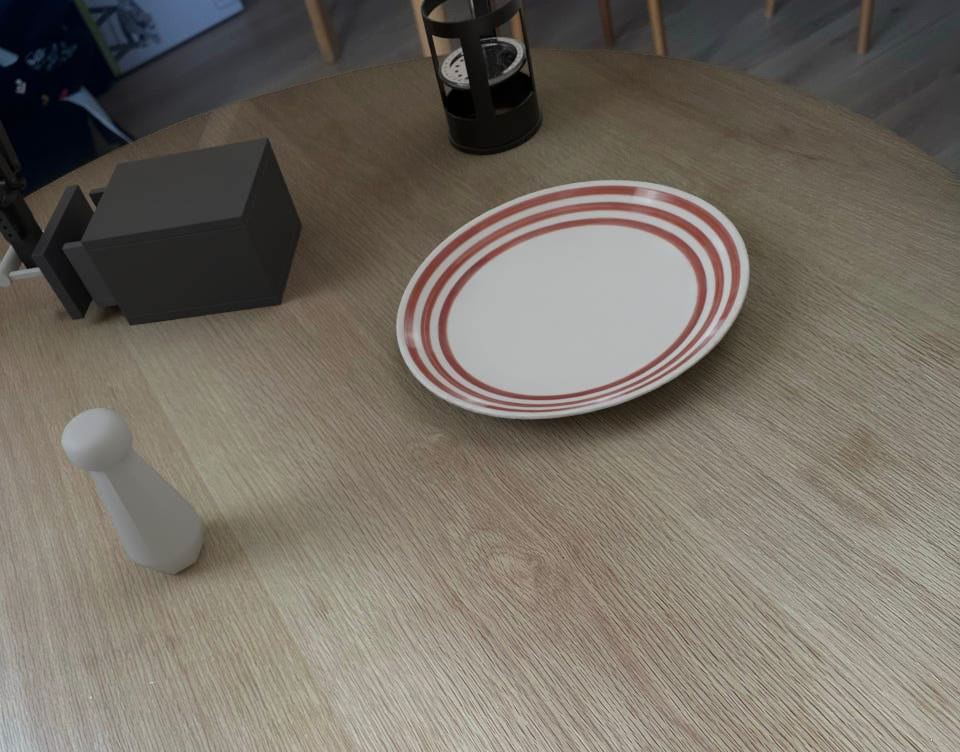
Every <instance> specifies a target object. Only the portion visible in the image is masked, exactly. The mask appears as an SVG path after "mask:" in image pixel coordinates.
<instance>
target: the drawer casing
mask: <svg viewBox="0 0 960 752" xmlns="http://www.w3.org/2000/svg"><path fill="white" fill-rule="evenodd" d="M105 187H106V189H105V191H104V193H103V195H102V197H101V199H100V201H99V204H98V206H97V208H96V207H95V210H94V211H93V212H94V214H93V216H92V218H91V220H90V223H89V225H88V227H87V229H86V231H85V233H84V235H83V237H82V240H81V244H82V245H83V247H84V249H85V250H86V252H87V254H88V255H89V257H90V259H91V260H92V262H93V264H94V266H95V267H96V269H97V271H98V272H99V274H100V276H101V277H102V279H103V281H104V282H105V284H106V286H107V287H108V289H109V291H110V292H111V294H112V296H113V297H114V299H115V301H116V303H117V304H118V305H117V307H118V308H119V309H120V311H121V312H122V314H123V316H124V318H125V320H126V322H127V323H128V324H129V326H133V325H142V324H149V323H155V322H164V321H171V320H177V319H184V318H192V317H199V316H206V315H214V314H221V313H229V312H234V311H243V310H249V309H257V308H263V307H264V308H265V307H270V306H278V305H281V304H282V300H283V297H284V293H285V290H286V289H285V288H286V286H287V282H288V278H289V275H290V270H291V268H292V264H293V260H294V257H295V252H296V250H297V245H298V241H299V238H300V234H301V230H302V227H303V224H302V220H301V218H300V216H299V214H298V210H297V208H296V206H295V203H294V201H293V198H292V195H291V193H290V190H289V188H288V185H287V182H286V180H285V177H284V175H283V173H282V170H281V168H280V165H279V162H278V160H277V157H276V154H275V152H274V149H273V147H272V145H271V141H270V140H269V137H261V138H256V139H251V140H244V141H240V142H239V141H238V142H233V143H227V144H223V145H216V146H211V147H205V148H199V149H194V150H187V151H182V152H176V153H171V154H165V155H159V156H153V157H148V158H143V159H137V160H131V161H126V162H125V161H124V162H119V163H117V164H116V165H115V167H114V170H113V172H112V174H111V176H110V178H109V180H108V182H107V184H106V186H105Z"/></svg>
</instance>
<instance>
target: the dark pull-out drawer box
mask: <svg viewBox="0 0 960 752" xmlns="http://www.w3.org/2000/svg"><path fill="white" fill-rule="evenodd" d="M106 187H107V186H103V187H97V188H91V189H90V190H89V192H88V196H89V198H90V199H91V201H92V203H93V205H94V207H95V209H96V208H97V206H98V204H99V201H100V199H101V197H102V195H103V193H104V191H105V189H106ZM94 212H95V211H94V210H93V208H92V206H91V205H90V203H89V201H88V199H87V198H86V196H85V194H84V192H83V191H82V189H81V187H80V185H79V184H72V185H67V186H65V189H64V191H63V193H62V195H61V197H60V199H59V200H58V202H57V204H56V206H55V208H54V210H53V213H52V214H51V216H50V218H49V221H48V222H47V224H46V225H45V228H44V230H42V232H43V234H42V236H41V238H40V240H39V242H38V244H37V246H36V248H35V250H34V252H33V254H32V256H31V257H32V258H33V260H34V261H35V263H36V264H37V266H38V268H32V269H27V268H26V269H20V268H21V266H22V265H23V262H22V261H21V259H20V258H19V256H18V255H17V253H16V252H15V250H14V249H13V247H12V246H11V244H10V245H9V247H8V249H7V250H6V252H5V254H4V257H3V258H2V260H1V262H0V287H2V288H9V287H11V285H12V284H13V281H14V282H15V281H20V280H27V279H33V278H38V277H44V278H45V280H46V281H47V283H48V284H49V286H50V288H51V289H52V291H53V293H54V294H55V296H56V297H57V299H58V300H59V301H60V304H62V305H61V306H63V308H64V309H65V311H66V312H67V314H68V316H69V317H70V319H71V320H72V321H76V320H84V319H85V318H86V315H87V313H88V310H89V308H90V306H91V304H92V302H94V303H95V305H96V306H97V308H98V309H100V308H106V307H114V306H118V304H117V303H116V301H115V299H114V297H113V296H112V294H111V292H110V291H109V289H108V287H107V286H106V284H105V282H104V281H103V279H102V277H101V276H100V274H99V272H98V271H97V269H96V267H95V266H94V264H93V262H92V260H91V259H90V257H89V255H88V254H87V252H86V250H85V249H84V247H83V245H82V244H81V240H82V237H83V235H84V233H85V231H86V229H87V227H88V225H89V223H90V220H91V218H92V216H93V214H94Z"/></svg>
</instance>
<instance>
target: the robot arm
mask: <svg viewBox="0 0 960 752" xmlns="http://www.w3.org/2000/svg"><path fill="white" fill-rule="evenodd" d="M21 170H22V165H21V161H20V160H19V158H18V156H17V152H16V151H15V149H14V147H13V145H12V142H11V140H10V138H9V136H8V134H7V132H6V129H5V127H4V125H3V122H2V121H1V119H0V234H2V237H3V238H4V239H5V241H6V242H7V243H8V244H10V245H11V246H12V247H13V249H14V250H15V252H16V253H17V255H18V256H19V258H20V259H21V261H22V265H24V267H25V268H26V269H32V268H38V266H37V264H36V263H35V261H34V260H33V258H32V257H31V256H32V254H33V252H34V250H35V248H36V246H37V244H38V242H39V240H40V238H41V236H42V234H43V232H42V231H43V230H42V228H41V226H40V225H39V223H38V222H37V220H36V218H35V216H34V214H33V212H32V210H31V208H30V207H29V205H28V204H27V202H26V200H25V198H24V197H23V195H22V194H21V193H20V191H19V190H24V189H26V188H27V181H26V178H25V177H19V178H17V176H16V174H17V173H18V172H21Z"/></svg>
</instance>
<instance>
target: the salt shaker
mask: <svg viewBox="0 0 960 752" xmlns="http://www.w3.org/2000/svg"><path fill="white" fill-rule="evenodd" d="M133 440H134V436H133V433H132V431H131V429H130V428H129V425H128V424H127V422H126V421H125V419H124V418H123V417H122V416H121V414H119V412H118V411H115V410H112V409H111V408H107V407H95V408H90V409H87V410H85V411H82V412H80V413H79V414H77V415H76V416H74V417H73V418H72V419H70V421H69V422H68V423H67V424H66V426H65V427H64V429H63V432H62V436H61V441H60V444H61V446H62V448H63V450H64V452H65V455H66V457H67V459H68V460H69V461H70V462H71V463H72V464H73V466H75V467H77V468H78V469H81V470H83V471H85V472H89V475H90V476H91V478H92V481H93V483H94V485H95V487H96V490H97V491H98V494H99V496H100V499H101V501H102V502H103V505H104V508H105V509H106V511H107V513H108V516H109V518H110V520H111V522H112V525H113V527H114V529H115V531H116V533H117V535H118V538H119V539H120V542H121V544H122V547H123V548H124V550H125V553H126V555H127V557H128V558H129V559H130V560H131V561H132V562H133V563H136V564H137V565H138V564H139V565H140V566H142V567H145V568H148V569H150V570H152V571H155V572H158V573H163V574H168V575H174V576H175V575H176V574H179V573H180V572H182V571H183V570H185V569H187V568H188V567H191V566H192V565H194V564H195V563H197V561H198V559H199V555H200V553H201V551H202V548H203V546H204V532H203V522H202V519H201V517H200V515H199V514H198V511H197V510H196V508H195V507H194V505H192V504H191V503H190V502H189V501H188V500H187V499H186V498H185V497H184V496H183V495H182V494H181V493H180V492H179V491H178V490H176V489H175V487H173V485H172V484H170V483H169V482H168V481H167V480H166V479H165V478H164V476H162V474H160V473H159V472H158V471H157V470H156V469H155V468H154V467H153V466H152V465H151V464H150V463H148V462H147V461H146V460H145V458H143V457H142V456H141V454H139V453H138V452H137V451H136V450H135V449H134V448H133V447H132V444H133Z"/></svg>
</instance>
